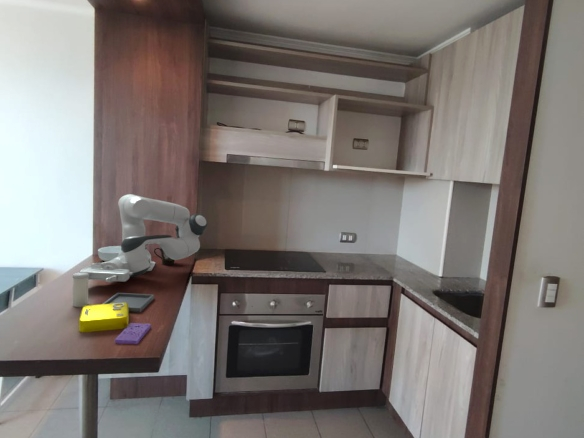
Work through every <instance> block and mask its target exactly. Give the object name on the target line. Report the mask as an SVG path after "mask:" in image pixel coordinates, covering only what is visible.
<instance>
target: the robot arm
mask: <svg viewBox="0 0 584 438" xmlns="http://www.w3.org/2000/svg"><path fill="white" fill-rule="evenodd" d="M117 203H118V204H117V205H118V209H119V214H120V222H121V228H122V229H121V231H122V233H121V235H122V237H121V240H122V241H121V244H120V246H121V250H122V251H121V252H120V253H119V255H118V257H116V258H114V259H112V260H110V261H104V262H103V261H102V262H93V263H91V264H90V265H87V266H85V267H83V268H81V269H80V270H79V271H78V273H88V274H89V276H88V281H104V282H106V283H112V282H123V283H125V282H127V281H128V280H129V279H130V277H131V278H133V277H135V278H136V277H138V276H141V275H143V274H145V273H147V272H151V271H153V269H154V267H155V265H156V262H155V261H152V255H151V253H150V252H149V250H148V245H151V244H157V245H158V246H159V248H160V249H161V248H162V249H163V251H164V253H165V254H166V255H167V256H168V257H169V258H171V259H173V260H175V261H178V260H182V259H186V258H188V257H189V256H192V255H193V254H195V253H197V252H198V251H199V250H200V247H201V242H200V239H199V237H200V236H203V234H204V232H205V231H206V230H207V228H208V225H209V224H208V223H209V222H208V220H207V217H206V216H204V215H203V214H201V213H195V214H193V215H191V214H190V213H191V212H190V210H189V209H188V208H187V207H185V206H182V205H180V204H178V203H173V202H169V201H164V200H160V199H153V198H149V197H144V196H140V195H136V194H132V193H131V194H130V193H129V194H128V193H127V194H124V195H123V196H121V197H120V198H119V200H118V202H117ZM190 215H191V216H190ZM144 220H147V221H148V220H149V221H157V222H161V223H168V224H173V225H176V226H175V228H174V230H175V232H176V233H175V235H176V238H174V237H173V236H172V235H170V234H156V235H146V226H145V223H144Z"/></svg>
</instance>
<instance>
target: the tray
mask: <svg viewBox="0 0 584 438" xmlns="http://www.w3.org/2000/svg"><path fill="white" fill-rule="evenodd" d="M154 299H155V294H149V293H148V294H146V293H129V292H117V293H115V294H114V295H112V296H111V297H110V298H108V299H107V300H106V301H104V302H103V303H102V304H112V303H127V304H128V309H129V313H141V312H142V311H144V309H145V308H146V307H147V306H148V305H149V304H150V303H151V302H152V301H153V300H154Z"/></svg>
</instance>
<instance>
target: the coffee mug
mask: <svg viewBox="0 0 584 438" xmlns="http://www.w3.org/2000/svg"><path fill="white" fill-rule="evenodd" d="M156 250H159V251H160V253H161V254H160V255H161V256H160V255H158V254H157V252H156ZM153 252H154V254H155V255H156V256H157V257H158V258H160V259H161V265H162V266H173V265H175V261H176V260H173V259H171V258H169V257H168V256H167V255H166V254H165V253H164V251H163V249H162V248H161V247H156V248H154V251H153Z"/></svg>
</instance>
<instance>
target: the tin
mask: <svg viewBox="0 0 584 438" xmlns="http://www.w3.org/2000/svg"><path fill="white" fill-rule="evenodd" d="M71 276H72V307H75V308H81V307H82V308H83V307H84V306H86V305H89V280H88V276H89V274H88V273H79V272H76V273H73V274H72V275H71Z"/></svg>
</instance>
